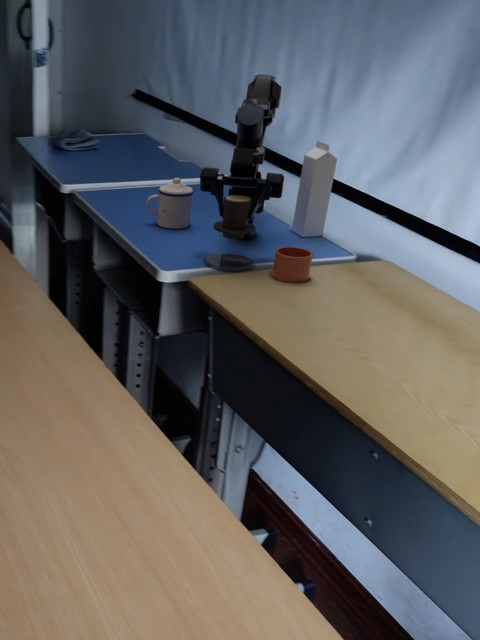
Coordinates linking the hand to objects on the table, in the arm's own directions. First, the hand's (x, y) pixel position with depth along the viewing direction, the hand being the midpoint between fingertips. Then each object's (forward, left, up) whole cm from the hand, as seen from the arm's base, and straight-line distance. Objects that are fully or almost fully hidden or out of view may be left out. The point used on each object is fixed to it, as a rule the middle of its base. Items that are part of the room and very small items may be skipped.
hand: (235, 216), depth 188 cm
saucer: (-1, 0, -11) cm, 11 cm away
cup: (-1, +15, -11) cm, 18 cm away
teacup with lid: (-24, -27, -11) cm, 38 cm away
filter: (-1, 0, -5) cm, 5 cm away
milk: (-38, +7, -11) cm, 40 cm away
